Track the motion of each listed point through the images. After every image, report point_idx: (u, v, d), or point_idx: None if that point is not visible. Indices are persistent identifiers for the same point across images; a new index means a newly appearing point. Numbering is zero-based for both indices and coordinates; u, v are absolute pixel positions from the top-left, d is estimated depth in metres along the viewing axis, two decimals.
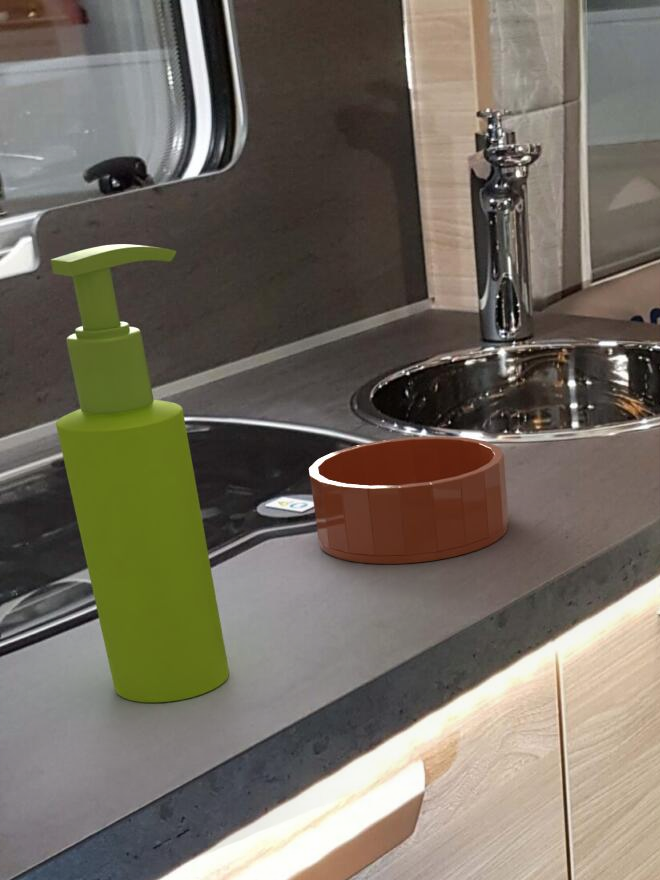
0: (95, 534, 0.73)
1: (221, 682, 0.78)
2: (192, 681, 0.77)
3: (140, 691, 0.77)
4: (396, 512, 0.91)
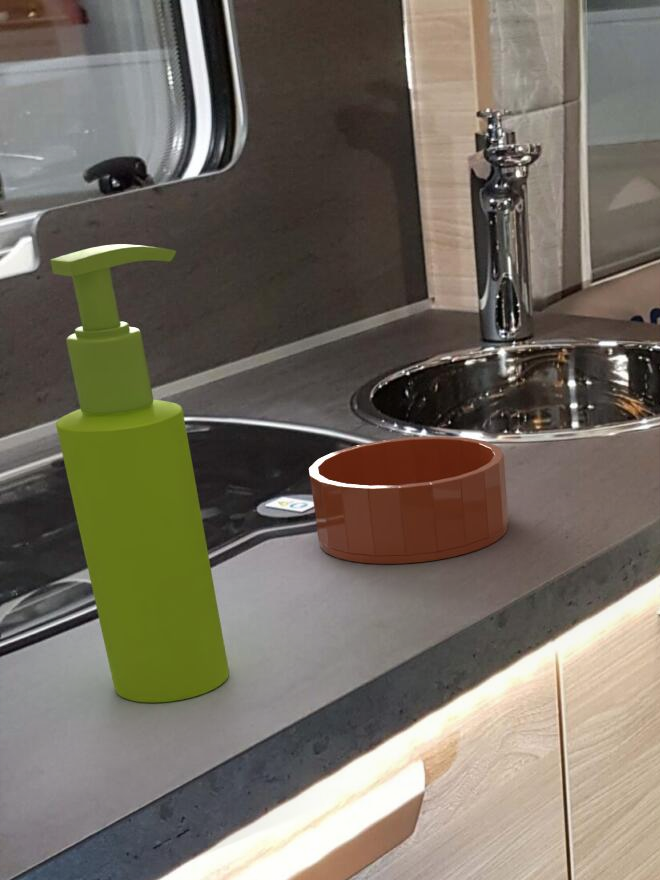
0: (95, 534, 0.73)
1: (221, 682, 0.78)
2: (192, 681, 0.77)
3: (140, 691, 0.77)
4: (396, 512, 0.91)
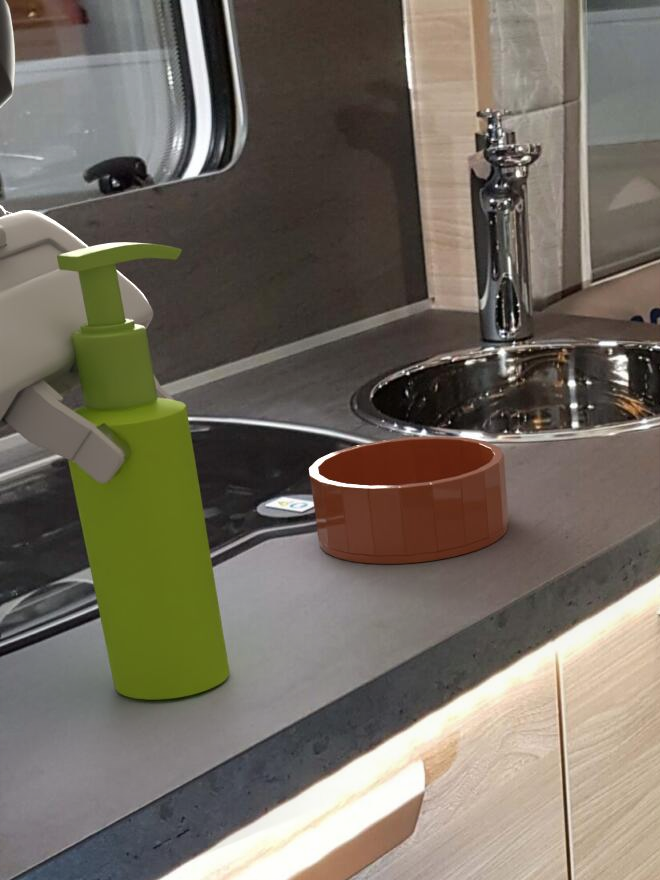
0: (97, 529, 0.73)
1: (221, 680, 0.78)
2: (192, 678, 0.77)
3: (140, 688, 0.77)
4: (396, 512, 0.91)
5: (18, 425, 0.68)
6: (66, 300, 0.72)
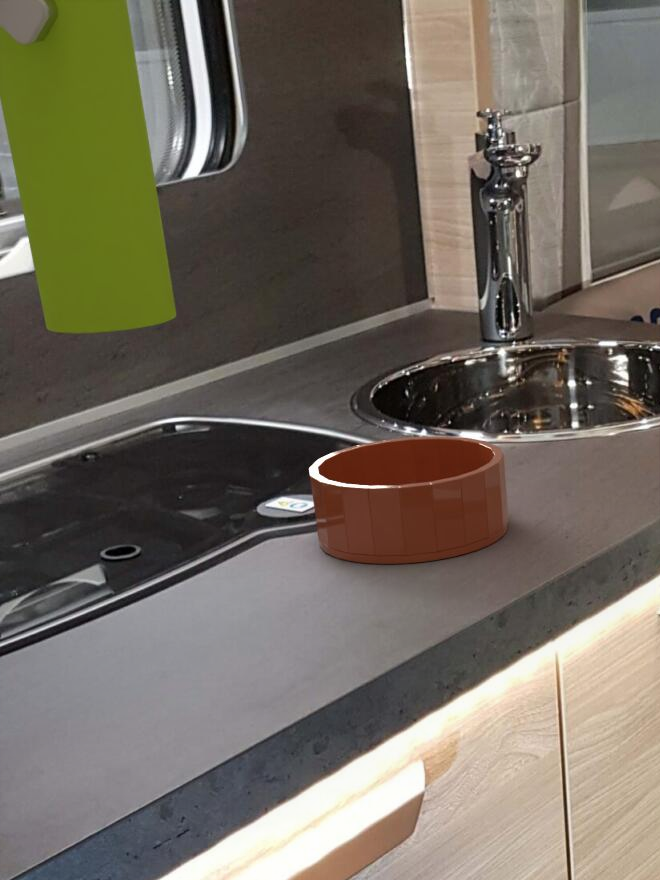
0: (21, 116, 0.64)
1: (167, 318, 0.70)
2: (133, 308, 0.68)
3: (74, 319, 0.68)
4: (396, 512, 0.91)
5: None
6: None
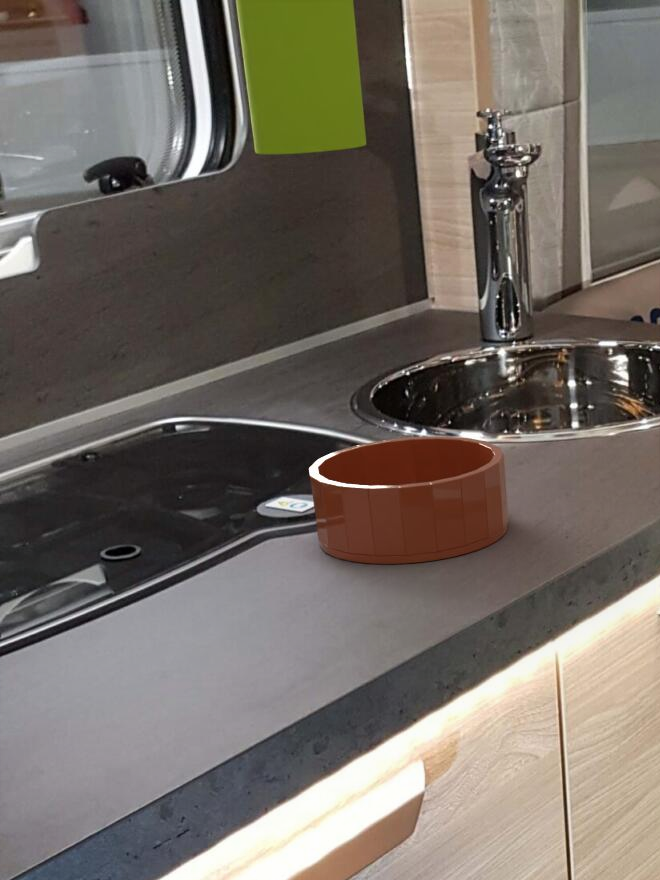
0: None
1: (360, 144, 0.80)
2: (335, 132, 0.79)
3: (284, 141, 0.79)
4: (396, 512, 0.91)
5: None
6: None
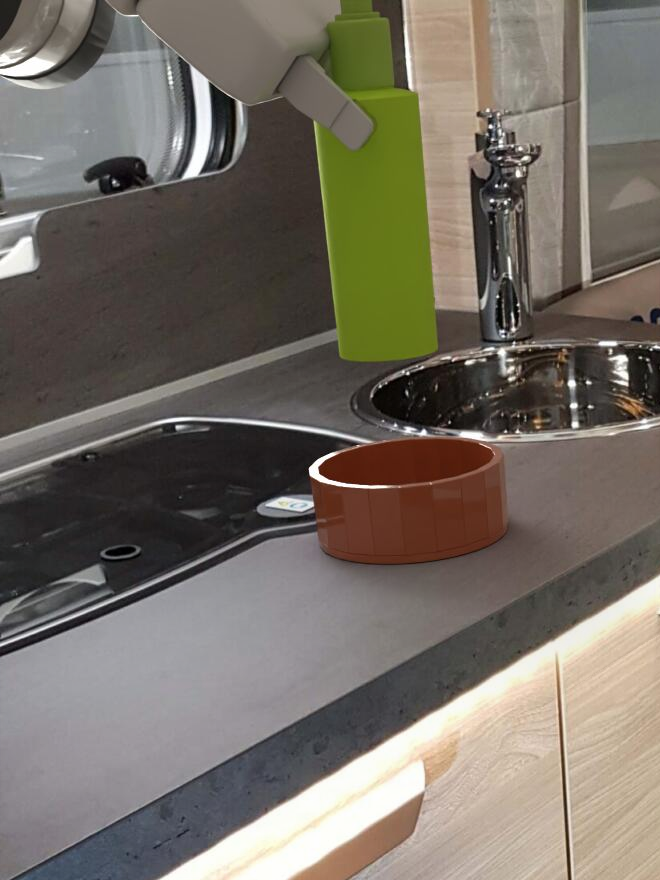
0: (341, 200, 0.85)
1: (433, 350, 0.91)
2: (412, 343, 0.89)
3: (367, 351, 0.89)
4: (396, 512, 0.91)
5: (288, 93, 0.80)
6: (315, 2, 0.85)
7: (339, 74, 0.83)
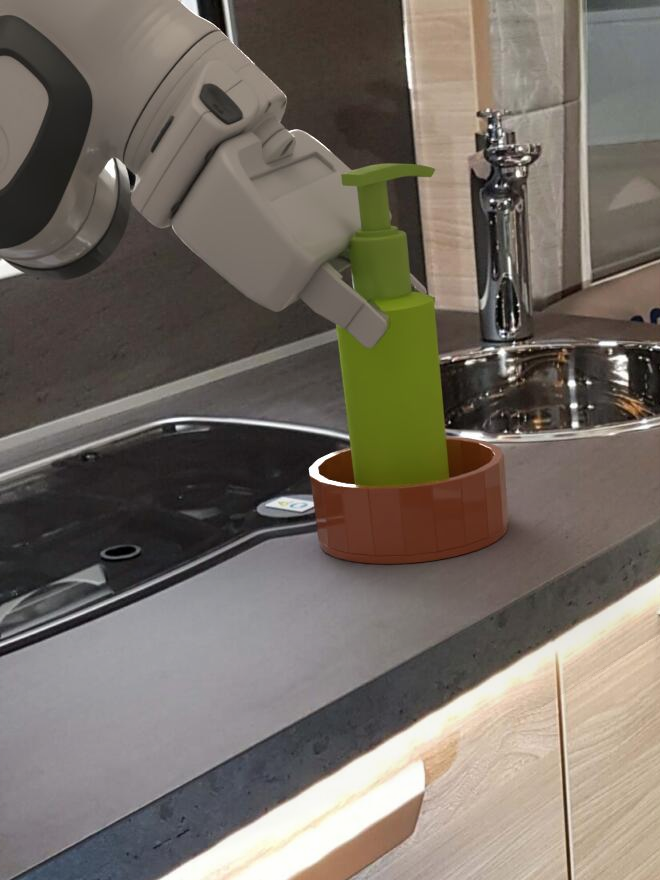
0: (362, 398, 0.91)
1: None
2: None
3: None
4: (396, 512, 0.91)
5: (307, 298, 0.85)
6: (338, 199, 0.90)
7: (360, 285, 0.89)
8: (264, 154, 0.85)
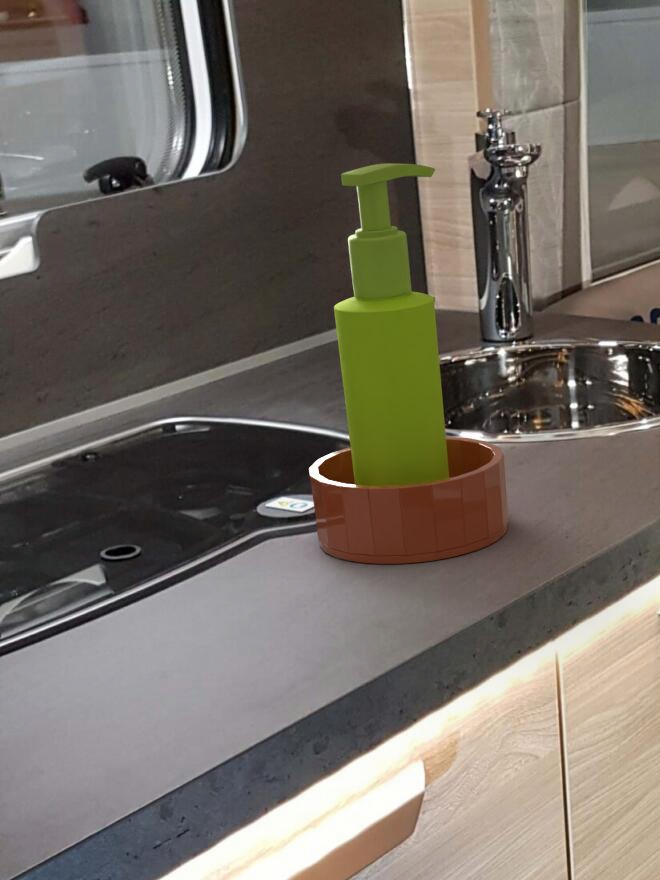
0: (362, 398, 0.91)
1: None
2: None
3: None
4: (396, 512, 0.91)
5: None
6: None
7: (360, 285, 0.89)
8: None
